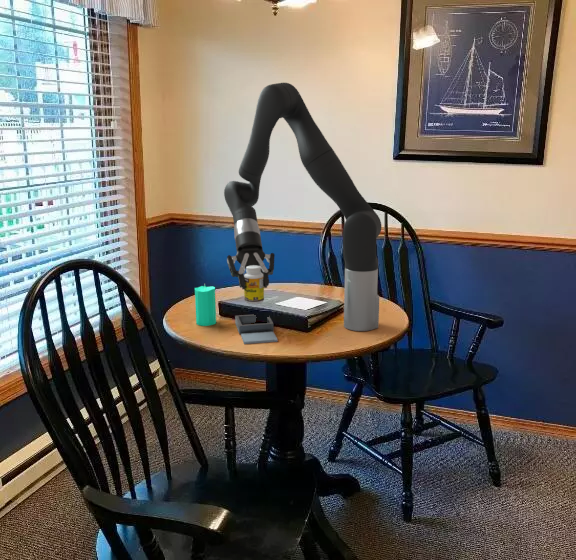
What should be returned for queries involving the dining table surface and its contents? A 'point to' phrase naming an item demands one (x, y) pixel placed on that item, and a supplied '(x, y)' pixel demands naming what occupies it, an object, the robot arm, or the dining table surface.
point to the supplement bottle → (254, 285)
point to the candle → (205, 306)
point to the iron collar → (252, 327)
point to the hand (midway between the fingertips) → (254, 287)
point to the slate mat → (259, 337)
